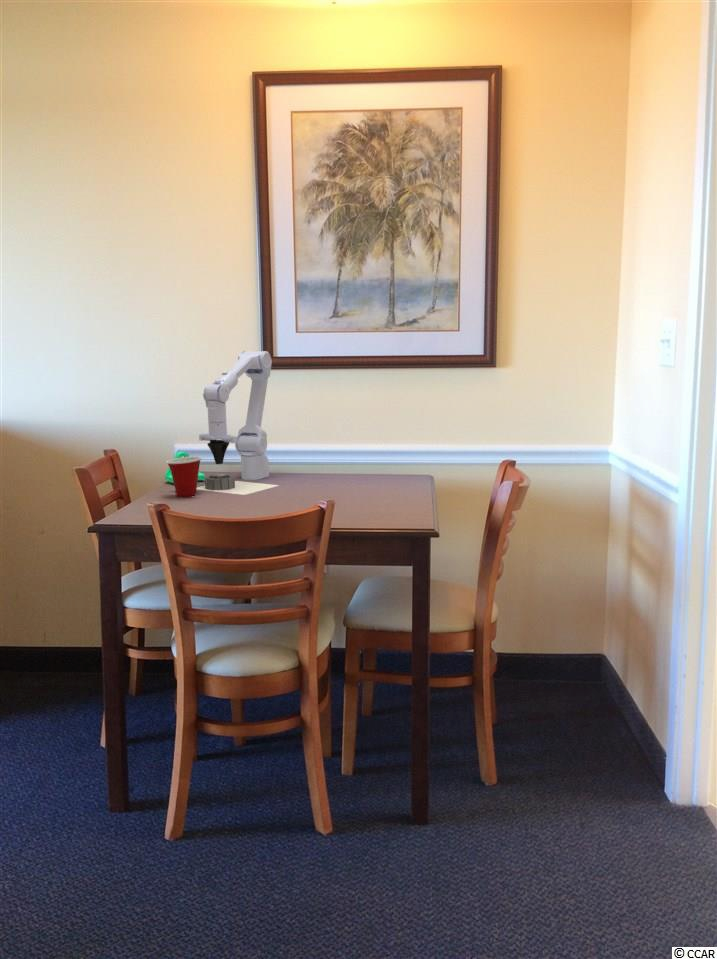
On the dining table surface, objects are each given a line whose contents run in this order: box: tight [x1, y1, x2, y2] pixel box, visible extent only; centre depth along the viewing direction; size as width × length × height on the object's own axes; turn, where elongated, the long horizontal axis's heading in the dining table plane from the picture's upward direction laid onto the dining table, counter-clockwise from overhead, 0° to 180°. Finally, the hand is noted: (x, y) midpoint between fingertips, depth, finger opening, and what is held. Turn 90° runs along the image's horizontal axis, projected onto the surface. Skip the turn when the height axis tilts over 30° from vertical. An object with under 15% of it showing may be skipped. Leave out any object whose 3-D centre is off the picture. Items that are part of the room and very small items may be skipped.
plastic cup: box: [166, 456, 202, 498], centre depth 273 cm, size 11×11×12 cm
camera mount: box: [164, 451, 206, 484], centre depth 298 cm, size 12×8×10 cm, turn 121°
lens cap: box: [211, 473, 228, 479], centre depth 283 cm, size 5×5×4 cm
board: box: [196, 474, 281, 496], centre depth 283 cm, size 18×22×4 cm
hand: (219, 463), depth 282 cm, fingers closed
